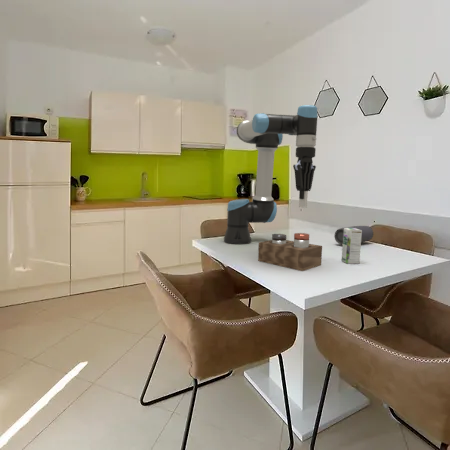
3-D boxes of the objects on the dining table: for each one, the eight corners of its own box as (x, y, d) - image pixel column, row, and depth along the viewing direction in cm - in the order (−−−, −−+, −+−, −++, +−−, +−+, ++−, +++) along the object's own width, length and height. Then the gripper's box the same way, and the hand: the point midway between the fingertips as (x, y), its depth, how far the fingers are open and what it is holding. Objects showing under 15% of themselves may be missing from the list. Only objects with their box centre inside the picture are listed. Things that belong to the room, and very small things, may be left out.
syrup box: (340, 260, 150) (342, 227, 148) (354, 260, 151) (356, 227, 149) (346, 263, 145) (348, 229, 143) (360, 263, 145) (362, 229, 143)
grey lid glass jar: (268, 257, 148) (269, 234, 147) (276, 255, 153) (277, 233, 151) (280, 260, 144) (280, 236, 143) (288, 257, 149) (289, 235, 147)
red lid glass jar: (290, 258, 141) (291, 234, 139) (298, 256, 145) (299, 232, 143) (303, 260, 136) (304, 235, 135) (311, 258, 141) (312, 234, 139)
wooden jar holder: (258, 260, 148) (258, 242, 146) (277, 255, 157) (278, 238, 156) (302, 271, 132) (303, 250, 131) (321, 264, 142) (322, 245, 141)
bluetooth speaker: (359, 241, 199) (360, 224, 198) (373, 243, 191) (375, 226, 190) (332, 244, 187) (333, 226, 185) (347, 247, 179) (348, 228, 178)
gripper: (305, 145, 127) (302, 209, 131) (322, 147, 137) (319, 207, 140) (288, 146, 133) (285, 207, 136) (306, 148, 142) (303, 205, 145)
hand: (302, 207), depth 138 cm, fingers closed
